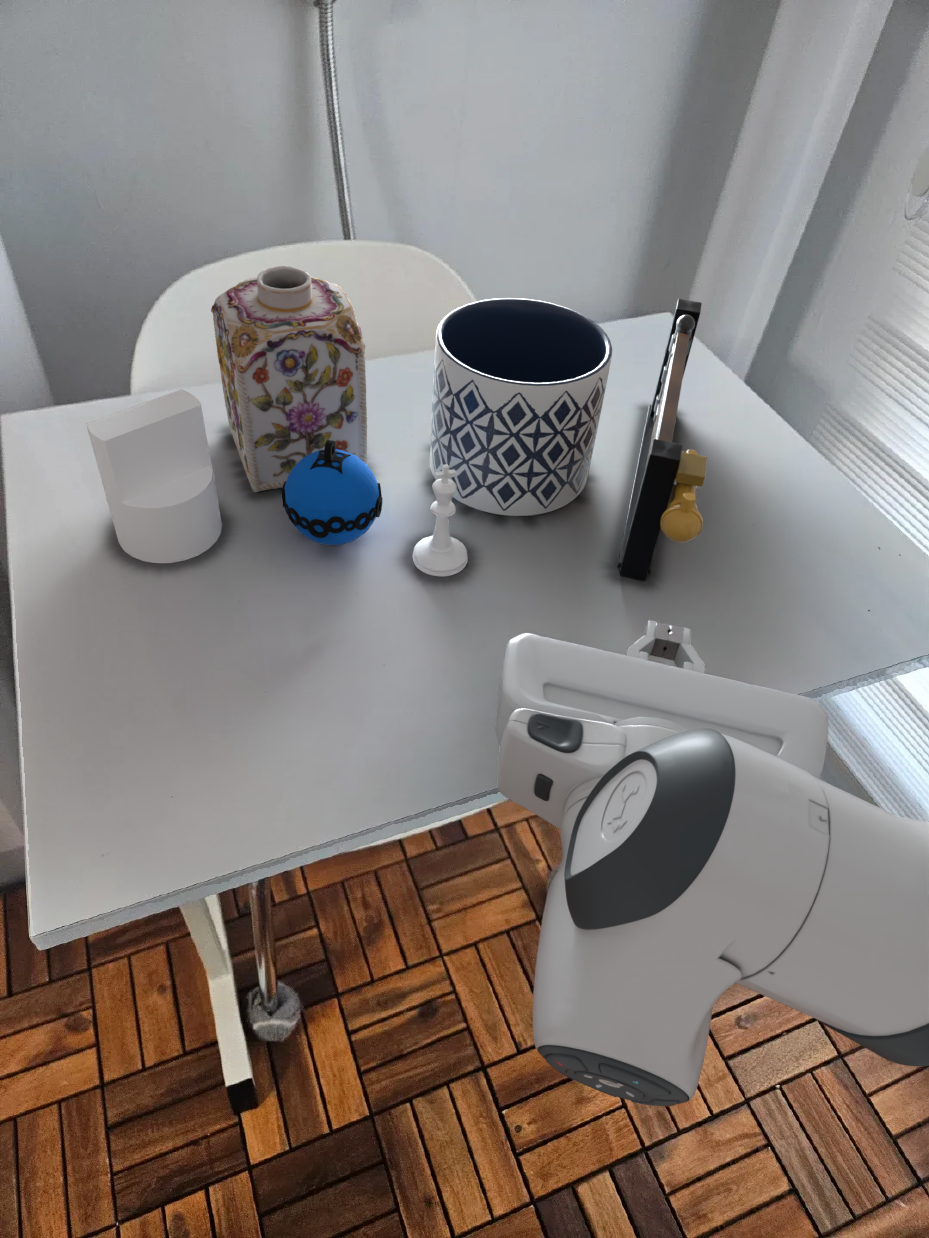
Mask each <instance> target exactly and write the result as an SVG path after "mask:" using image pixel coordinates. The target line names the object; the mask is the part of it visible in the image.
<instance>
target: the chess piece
mask: <svg viewBox="0 0 929 1238" xmlns="http://www.w3.org/2000/svg"><path fill="white" fill-rule="evenodd" d="M450 477H456V472H455V470H454V469H453V470H449V466H448V464H445V465H442V471H440V472H435V478H436V480H434V482H433V483H432V486H431V488H432V491H433V493H434V496H435V501H434V502H432V504H431V506H430V512H431V514H433V515H434V516H436V519H435V524H434V529H433V533H432V535H429V536H426V537H423V538H422V539H421V540H419V541H418V542H417V543H416V544H415V545H414V548H413V552H412V561H413V564H414V566H415V567H416V568H417V569H418V570H419V571H421V572H422V573H424V574H426V575H429V576H433V577H450V576H454V575H456V574H458V573H461V571H463V570H464V569H465V568H466V566H467V565H468V560H469V558H468V549H467V548H466V546H465V545H464V543H463V542H461V541H460V540H459V539H457V538H455V537H453V536H451V531H450V517H451V516H453V515H454V514H455V513H456V510H457V508H456V506H455V504H454V503H453V502H452V500H453V495H454V493H455V491H456V488H457V486H456V484H455V482H453V481H452V480H450V479H448V478H450ZM435 478H434V479H435ZM437 479H438V480H437Z"/></svg>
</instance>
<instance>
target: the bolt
mask: <svg viewBox="0 0 929 1238" xmlns="http://www.w3.org/2000/svg"><path fill="white" fill-rule="evenodd" d="M682 452H684V453H689V454H694V455H700V454H699V452H698V451H696V450H695V449H691V448H689V449H685V450H682ZM675 484H676V490H675V497H674V501H673V502H672V503H671V504H670V506H669V508H668V509H667V510H666V511H665V512H664V513H663V515H662V517H661V522H660V525H661V529H660V530H661V531H662V533H663V534H664V535H665V536H666V537H667V538H668V539H669V540H671V541H672V542H675V543H687V542H691V541H692V540H694V539H695V538H696V537H698V536H699V535H700V534H701V532H702V530H703V525H704V518H703V516H702V514H701V513H700V511H699V509H698V505H697V496H695V493H696V488H697V486H693V485H688V484H683V483H678V482H675ZM695 501H696V503H695Z"/></svg>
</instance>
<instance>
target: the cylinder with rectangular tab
mask: <svg viewBox="0 0 929 1238" xmlns="http://www.w3.org/2000/svg"><path fill="white" fill-rule="evenodd" d="M85 425H86V428H87V434H88V436H89V440H90V444H91V448H92V451H93V455H94V458H95V461H96V465H97V468H98V469H97V470H98V473H99V475H100V480H101V483H102V487H103V491H104V494H105V498H106V502H107V505H108V509H109V512H110V516H111V520H112V522H113V527H114V530H115V533H116V534H115V535H116V537H117V541H118V544H119V545H120V547H121V549H122V550H123V551H124V552H125V553H126V554H128V555H129V556H130V557H132V558H134V559H137V560H140V561H142V562H145V563H152V564H173V563H178V562H183V561H187V560H190V559H193V558H195V557H198V556H199V555H201V554H204V553H205V552H206V551H208V550H209V549H210V548H212V547H213V546H214V545H215V544H216V543H217V541H218V540H219V538H220V535H221V534H222V528H223V522H222V517H221V511H220V505H219V499H218V492H217V486H216V479H215V475H214V470H213V469H214V468H213V466H212V460H211V455H210V449H209V443H208V438H207V437H208V436H207V431H206V425H205V419H204V412H203V407H202V402H201V401H200V400H199V398H197V397H196V396H195V395H194V394H192V393H190V392H189V391H187V390H185V389H183V388H181V389H178V390H175V391H173V392H171V393H168V394H164V395H162V396H159V397H157V398H154V399H151V400H148V401H145V402H142V403H141V404H137V405H134V406H132V407H129V408H126V409H123V410H120V411H118V412H115V413H112V414H109V415H107V416H104V417H100V418H98V419H95V420H92V421H90V422H87V423H86V424H85Z"/></svg>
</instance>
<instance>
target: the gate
mask: <svg viewBox="0 0 929 1238" xmlns="http://www.w3.org/2000/svg"><path fill="white" fill-rule="evenodd" d="M694 326H695V321H694V318H693V317H692V316H690V315H682V316H680V317H679V318H678V320H677V322H676V331H675V334H673V335H672V338H671V342H670V346H669V352H670V354H669V358H668V362H667V365H666V366H665V367H664V370H663V374H662V378H661V382H662V386H661V390H660V394H659V395H658V396H657V398H656V402H655V406H654V412H655V414H654V418H653V421H654V427H653V432H652V437H651V442H650V448H651V444H652V440H653V439H658V440H663V441H668V442H673V439H674V433H675V427H676V421H677V414H678V409H679V402H680V397H681V390H682V385H683V380H682V379H684V376H683V373H684V374H685V372H684V367H685V361H686V355H688V353H689V349H690V345H691V341H692V338H691V333H692V330H693V328H694ZM650 448H649V452H650ZM648 456H649V453H648ZM647 460H648V458H647ZM646 464H647V463H646Z"/></svg>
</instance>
